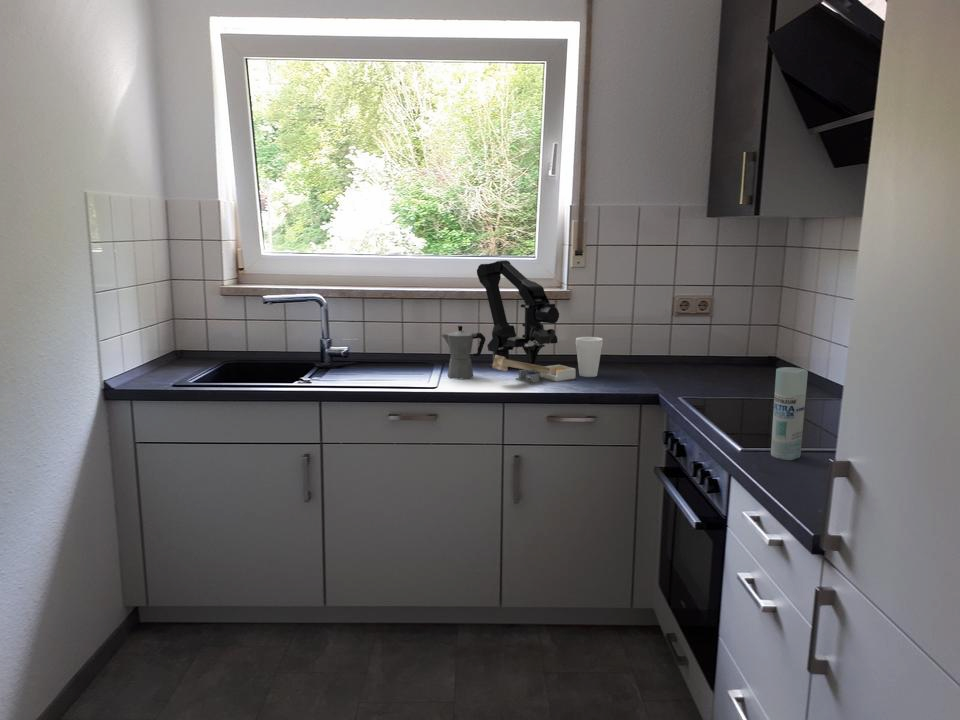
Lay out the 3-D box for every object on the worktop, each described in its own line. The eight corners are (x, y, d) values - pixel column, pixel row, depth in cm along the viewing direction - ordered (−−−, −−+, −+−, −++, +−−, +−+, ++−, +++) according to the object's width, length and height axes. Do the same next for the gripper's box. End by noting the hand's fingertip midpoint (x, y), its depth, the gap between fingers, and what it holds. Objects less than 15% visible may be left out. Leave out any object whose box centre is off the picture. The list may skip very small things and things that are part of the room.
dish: (539, 376, 253) (539, 367, 253) (558, 374, 258) (558, 364, 257) (555, 381, 246) (556, 371, 245) (575, 378, 250) (575, 368, 250)
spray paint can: (764, 454, 166) (770, 369, 162) (780, 449, 170) (787, 366, 166) (790, 462, 161) (797, 373, 157) (806, 457, 164) (813, 370, 161)
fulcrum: (515, 379, 249) (515, 370, 248) (525, 378, 251) (525, 369, 251) (531, 384, 241) (531, 374, 241) (542, 382, 244) (542, 373, 243)
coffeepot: (439, 378, 250) (438, 327, 247) (444, 373, 260) (444, 323, 256) (483, 380, 248) (483, 328, 245) (487, 374, 257) (487, 324, 254)
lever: (475, 362, 249) (477, 350, 249) (529, 372, 262) (532, 360, 262) (503, 370, 235) (506, 357, 234) (559, 380, 248) (562, 368, 248)
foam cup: (593, 378, 250) (594, 341, 248) (570, 375, 256) (570, 339, 253) (606, 374, 258) (607, 338, 255) (583, 371, 263) (584, 336, 261)
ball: (561, 368, 255) (557, 376, 255) (555, 364, 254) (551, 372, 253) (567, 370, 253) (563, 378, 252) (561, 366, 251) (557, 374, 251)
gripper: (524, 325, 244) (524, 370, 247) (567, 321, 254) (566, 365, 257) (506, 321, 254) (505, 365, 256) (548, 318, 263) (547, 360, 266)
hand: (532, 364), depth 259 cm, fingers closed
